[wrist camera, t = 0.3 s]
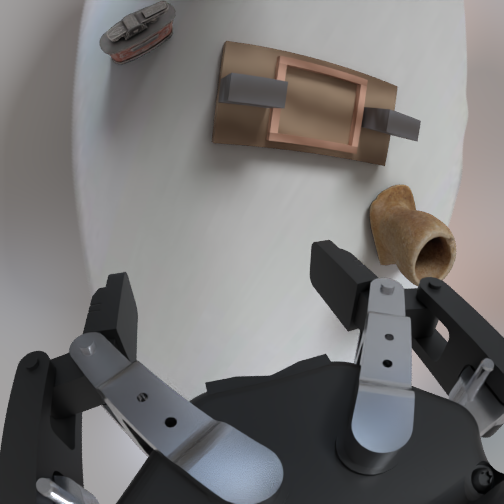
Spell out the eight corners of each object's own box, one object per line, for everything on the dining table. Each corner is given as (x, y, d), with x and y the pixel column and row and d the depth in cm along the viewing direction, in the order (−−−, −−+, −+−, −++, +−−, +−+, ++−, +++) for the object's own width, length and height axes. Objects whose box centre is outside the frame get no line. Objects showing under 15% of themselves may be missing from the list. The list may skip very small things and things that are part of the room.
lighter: (119, 70, 29) (103, 56, 20) (106, 50, 27) (88, 30, 18) (177, 36, 29) (182, 12, 20) (165, 16, 27) (166, -13, 18)
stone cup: (350, 202, 45) (415, 242, 32) (404, 175, 46) (471, 204, 33) (366, 274, 53) (417, 323, 40) (413, 245, 54) (467, 284, 41)
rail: (224, 43, 30) (238, 28, 24) (391, 86, 38) (425, 87, 32) (211, 141, 36) (222, 148, 29) (378, 163, 44) (410, 175, 37)
